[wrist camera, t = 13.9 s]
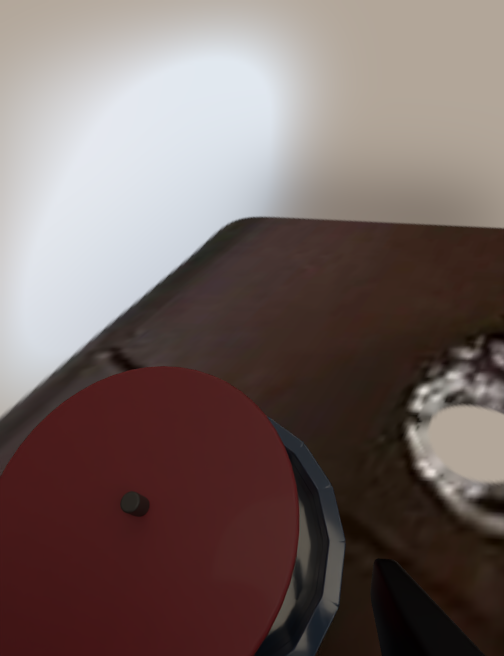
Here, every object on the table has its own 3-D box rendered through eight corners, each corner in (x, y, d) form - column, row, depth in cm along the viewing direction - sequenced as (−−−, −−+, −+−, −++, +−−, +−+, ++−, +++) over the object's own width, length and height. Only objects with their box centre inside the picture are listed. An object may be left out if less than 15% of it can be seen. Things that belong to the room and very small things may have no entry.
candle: (295, 528, 17) (369, 469, 6) (224, 641, 15) (104, 931, 3) (213, 459, 19) (141, 305, 7) (139, 551, 17) (-129, 537, 5)
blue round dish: (376, 585, 16) (402, 591, 13) (159, 758, 13) (131, 815, 10) (257, 396, 21) (257, 370, 18) (82, 493, 18) (48, 481, 16)
